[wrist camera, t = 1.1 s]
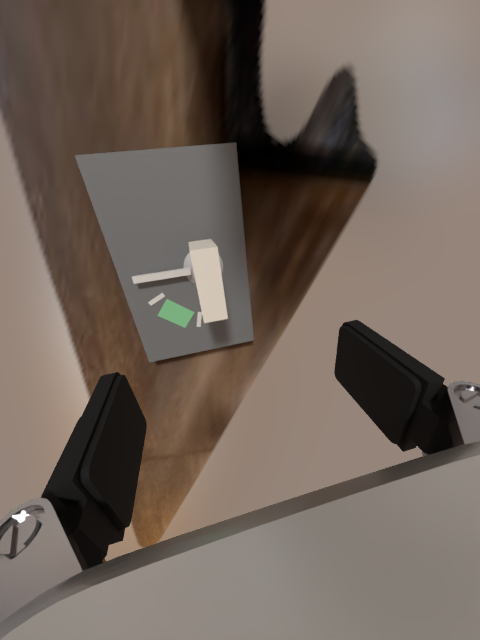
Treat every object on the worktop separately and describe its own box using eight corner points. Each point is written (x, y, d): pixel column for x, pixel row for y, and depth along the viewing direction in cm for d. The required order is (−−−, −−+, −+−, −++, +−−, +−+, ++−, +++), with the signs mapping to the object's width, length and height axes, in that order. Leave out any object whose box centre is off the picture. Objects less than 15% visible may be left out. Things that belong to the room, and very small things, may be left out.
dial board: (83, 159, 21) (74, 155, 19) (232, 147, 23) (236, 142, 21) (151, 353, 31) (149, 362, 29) (250, 333, 33) (254, 340, 31)
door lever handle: (123, 248, 23) (101, 263, 17) (209, 236, 24) (217, 246, 18) (142, 306, 26) (130, 337, 20) (218, 293, 27) (227, 318, 21)
